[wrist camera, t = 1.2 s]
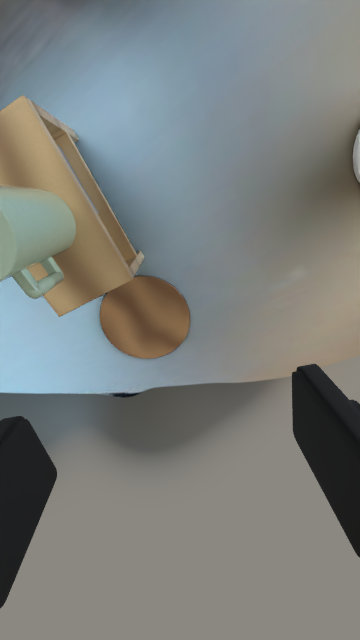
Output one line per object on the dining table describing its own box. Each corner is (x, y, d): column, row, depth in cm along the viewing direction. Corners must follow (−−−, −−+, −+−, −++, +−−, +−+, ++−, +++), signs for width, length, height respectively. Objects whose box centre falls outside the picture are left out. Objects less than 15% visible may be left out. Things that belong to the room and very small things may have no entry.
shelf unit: (73, 130, 33) (22, 94, 22) (144, 257, 40) (132, 279, 29) (12, 170, 35) (-64, 156, 24) (90, 286, 42) (59, 317, 31)
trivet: (127, 257, 40) (127, 257, 39) (207, 306, 44) (207, 308, 43) (85, 330, 45) (84, 332, 44) (160, 369, 49) (160, 371, 48)
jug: (-13, 195, 25) (-137, 191, 15) (40, 160, 24) (-56, 132, 14) (52, 284, 29) (-13, 328, 19) (101, 257, 28) (59, 289, 18)
